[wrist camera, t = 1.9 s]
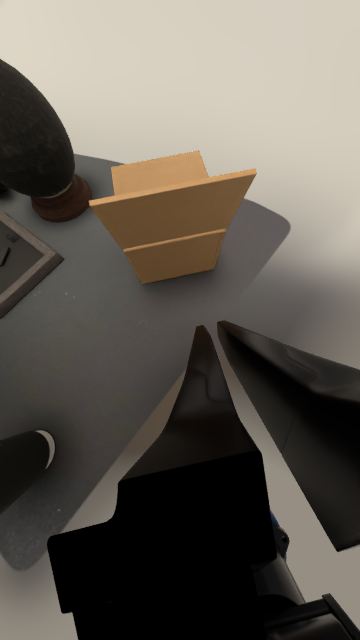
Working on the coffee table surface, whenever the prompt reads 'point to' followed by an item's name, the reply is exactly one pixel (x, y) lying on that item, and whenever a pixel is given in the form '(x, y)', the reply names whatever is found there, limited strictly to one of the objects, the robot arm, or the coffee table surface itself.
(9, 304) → the picture frame
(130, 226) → the flap
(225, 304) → the coffee table surface
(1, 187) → the controller
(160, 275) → the carton
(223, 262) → the coffee table surface
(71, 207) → the black ball on stand
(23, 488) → the dixie cup
